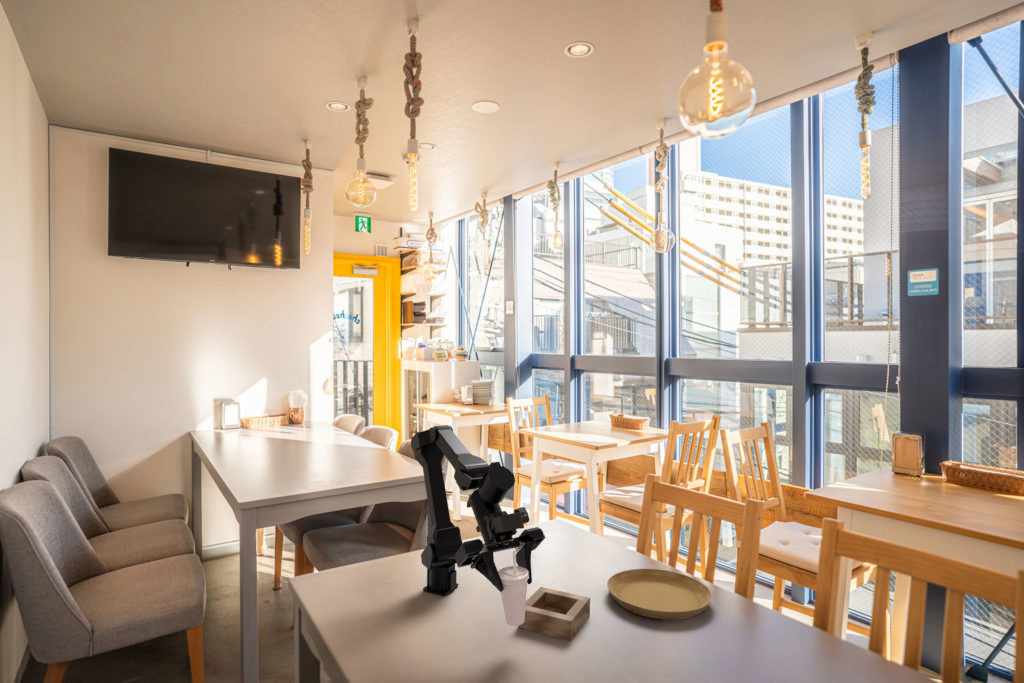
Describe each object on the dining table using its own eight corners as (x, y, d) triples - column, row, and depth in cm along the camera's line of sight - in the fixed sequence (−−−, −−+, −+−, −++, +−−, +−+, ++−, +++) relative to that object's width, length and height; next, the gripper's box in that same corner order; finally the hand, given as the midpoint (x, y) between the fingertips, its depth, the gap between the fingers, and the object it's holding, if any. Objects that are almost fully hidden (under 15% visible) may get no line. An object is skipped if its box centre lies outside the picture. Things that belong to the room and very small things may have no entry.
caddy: (518, 627, 121) (518, 608, 121) (540, 604, 132) (540, 586, 132) (571, 640, 116) (571, 621, 116) (589, 615, 126) (590, 597, 126)
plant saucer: (615, 574, 150) (615, 561, 150) (712, 588, 142) (712, 575, 142) (598, 615, 127) (598, 600, 127) (711, 635, 119) (712, 619, 119)
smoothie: (528, 630, 108) (524, 558, 108) (495, 628, 110) (491, 557, 109) (534, 613, 114) (530, 545, 114) (503, 611, 116) (499, 544, 115)
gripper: (462, 501, 110) (490, 579, 100) (541, 489, 120) (572, 558, 111) (444, 529, 116) (468, 605, 107) (519, 515, 126) (548, 583, 117)
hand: (516, 587), depth 110 cm, fingers closed on smoothie, 6 cm apart
